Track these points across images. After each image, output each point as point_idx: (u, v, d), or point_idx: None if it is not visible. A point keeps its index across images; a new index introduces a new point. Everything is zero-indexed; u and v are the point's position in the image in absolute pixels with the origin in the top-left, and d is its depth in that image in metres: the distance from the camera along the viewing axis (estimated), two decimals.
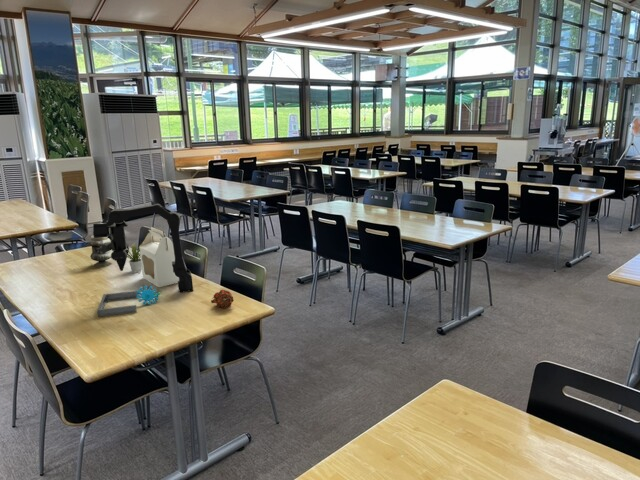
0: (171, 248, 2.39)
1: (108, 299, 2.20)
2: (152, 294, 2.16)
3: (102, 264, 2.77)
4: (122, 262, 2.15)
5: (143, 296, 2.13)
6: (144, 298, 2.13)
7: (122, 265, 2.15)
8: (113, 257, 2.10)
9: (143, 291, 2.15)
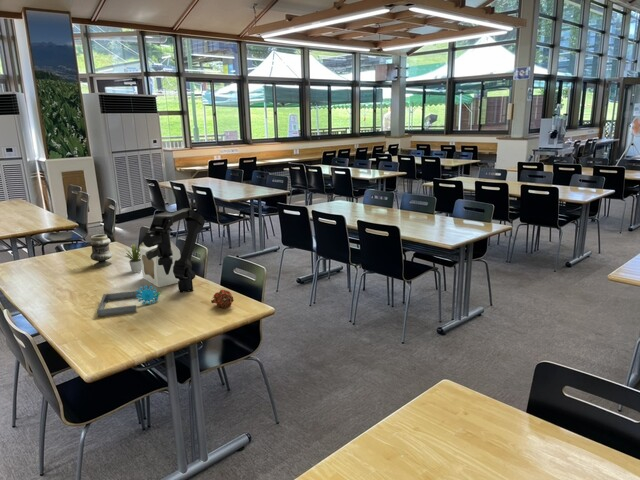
0: (171, 248, 2.39)
1: (108, 299, 2.20)
2: (152, 294, 2.16)
3: (102, 264, 2.77)
4: (168, 266, 2.16)
5: (143, 296, 2.14)
6: (144, 298, 2.13)
7: (168, 269, 2.17)
8: (160, 264, 2.07)
9: (143, 291, 2.15)
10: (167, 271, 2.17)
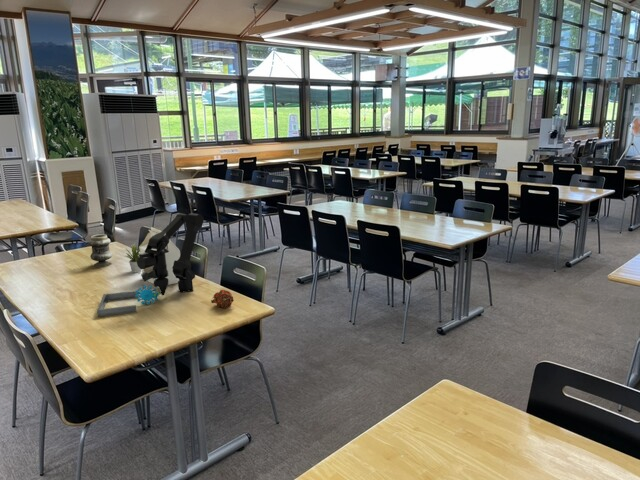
0: (171, 248, 2.39)
1: (108, 299, 2.20)
2: (151, 294, 2.16)
3: (102, 264, 2.77)
4: (164, 287, 2.18)
5: (142, 296, 2.14)
6: (143, 298, 2.13)
7: (164, 290, 2.18)
8: (156, 285, 2.09)
9: (142, 291, 2.15)
10: (163, 292, 2.19)
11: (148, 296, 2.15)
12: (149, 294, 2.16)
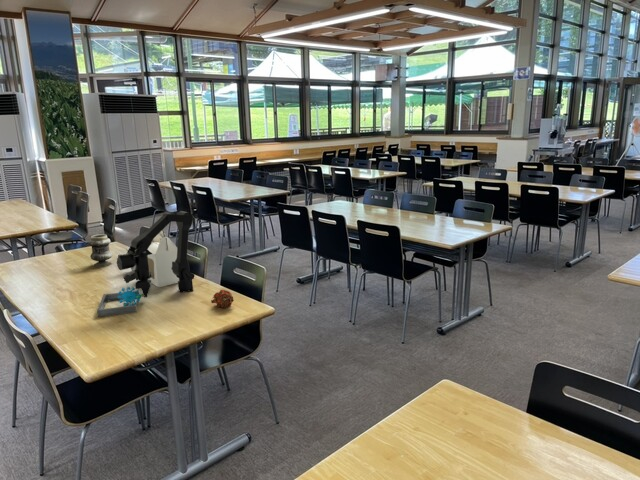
0: (171, 248, 2.39)
1: (108, 299, 2.20)
2: (134, 295, 2.15)
3: (102, 264, 2.77)
4: (146, 289, 2.15)
5: (124, 298, 2.12)
6: (125, 299, 2.12)
7: (146, 292, 2.16)
8: (137, 287, 2.06)
9: (125, 292, 2.14)
10: (145, 294, 2.16)
11: (130, 298, 2.13)
12: (131, 296, 2.14)
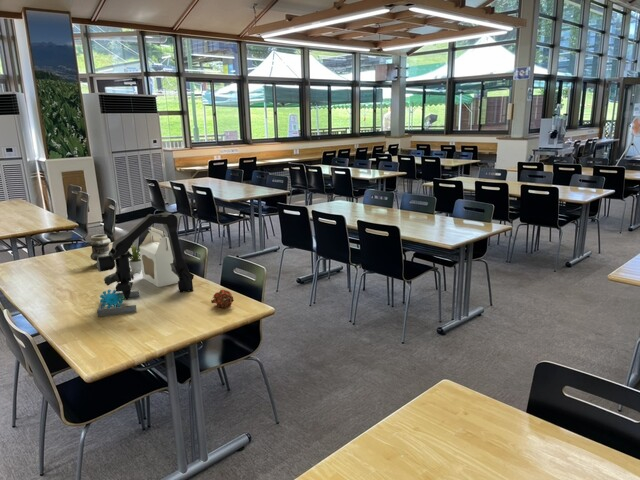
0: None
1: None
2: (116, 298, 2.12)
3: None
4: (128, 291, 2.13)
5: (107, 301, 2.09)
6: (108, 302, 2.09)
7: (128, 294, 2.14)
8: (118, 290, 2.04)
9: (107, 295, 2.10)
10: (127, 296, 2.14)
11: (113, 300, 2.10)
12: (114, 298, 2.11)
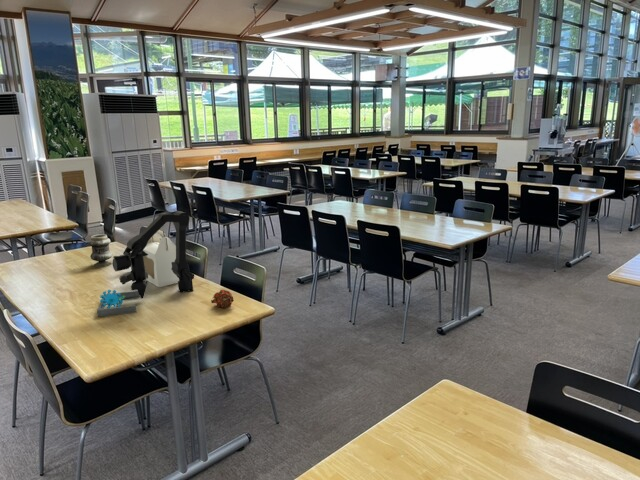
0: (171, 248, 2.39)
1: None
2: (116, 298, 2.12)
3: (102, 264, 2.77)
4: (143, 290, 2.15)
5: (107, 301, 2.09)
6: (108, 302, 2.09)
7: (143, 293, 2.16)
8: (133, 289, 2.06)
9: (107, 295, 2.10)
10: (142, 295, 2.16)
11: (113, 300, 2.10)
12: (114, 298, 2.11)
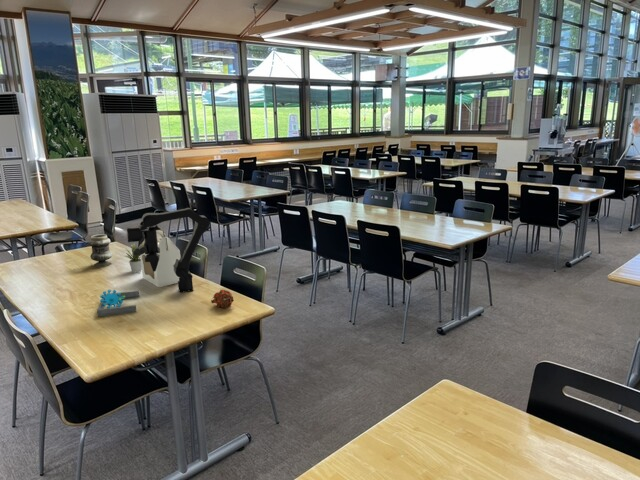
0: (171, 248, 2.39)
1: None
2: (116, 298, 2.12)
3: (102, 264, 2.77)
4: (155, 263, 2.22)
5: (107, 301, 2.09)
6: (108, 302, 2.09)
7: (155, 266, 2.22)
8: (147, 261, 2.13)
9: (107, 295, 2.10)
10: (154, 268, 2.23)
11: (113, 300, 2.11)
12: (114, 298, 2.11)
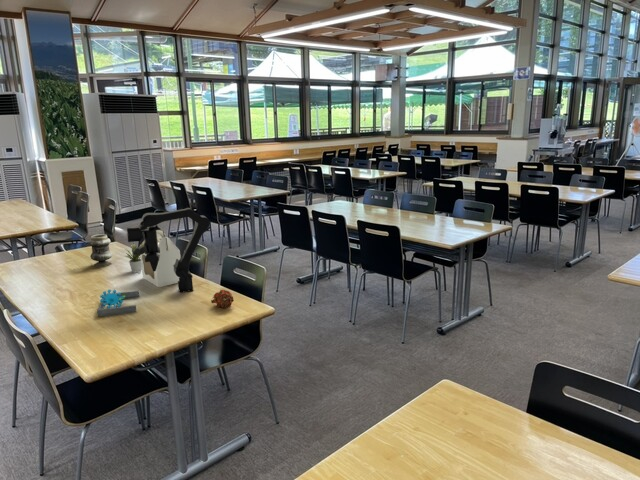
0: (171, 248, 2.39)
1: None
2: (116, 298, 2.12)
3: (102, 264, 2.77)
4: (155, 263, 2.22)
5: (107, 300, 2.09)
6: (108, 302, 2.09)
7: (155, 266, 2.22)
8: (147, 260, 2.13)
9: (107, 295, 2.11)
10: (154, 268, 2.23)
11: (113, 300, 2.11)
12: (114, 298, 2.12)
